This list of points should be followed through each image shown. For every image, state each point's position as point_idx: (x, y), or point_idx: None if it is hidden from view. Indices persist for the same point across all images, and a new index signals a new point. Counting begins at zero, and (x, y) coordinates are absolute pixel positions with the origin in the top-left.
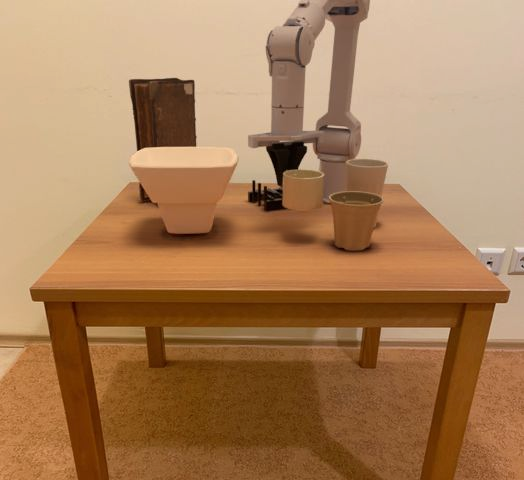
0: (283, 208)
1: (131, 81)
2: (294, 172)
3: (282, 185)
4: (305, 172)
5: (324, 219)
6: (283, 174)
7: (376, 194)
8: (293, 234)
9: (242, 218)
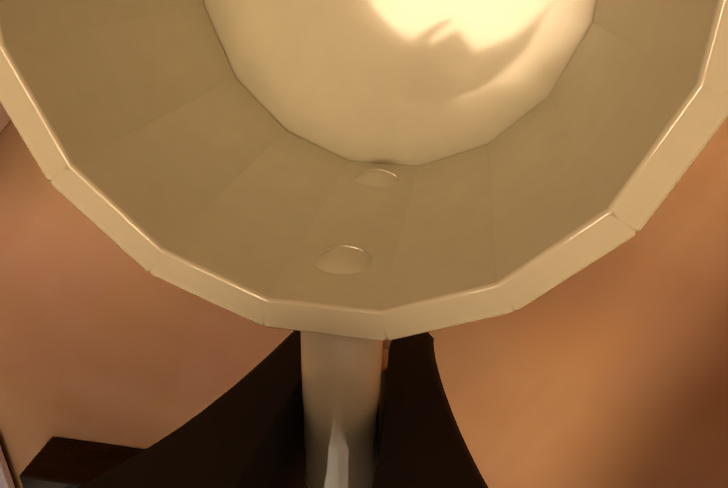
0: None
1: None
2: (341, 286)
3: (431, 340)
4: (177, 224)
5: (100, 236)
6: (707, 140)
7: None
8: None
9: (519, 453)
